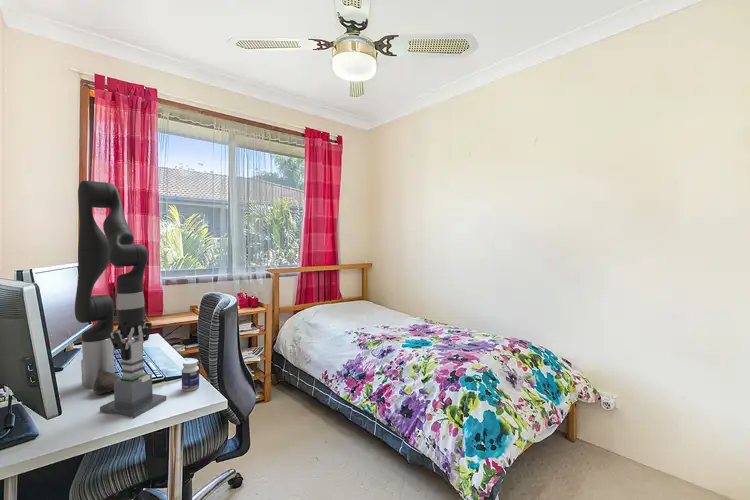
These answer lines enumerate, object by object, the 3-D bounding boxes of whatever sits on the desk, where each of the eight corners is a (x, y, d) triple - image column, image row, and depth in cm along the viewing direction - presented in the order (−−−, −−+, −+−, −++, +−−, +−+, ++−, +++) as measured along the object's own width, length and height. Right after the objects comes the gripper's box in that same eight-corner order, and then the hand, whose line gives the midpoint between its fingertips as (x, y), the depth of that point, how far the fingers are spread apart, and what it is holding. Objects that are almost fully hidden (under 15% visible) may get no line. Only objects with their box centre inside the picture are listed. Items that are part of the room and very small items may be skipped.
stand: (99, 411, 116) (98, 380, 115) (133, 395, 128) (132, 366, 127) (134, 417, 112) (133, 385, 112) (166, 400, 124) (165, 370, 123)
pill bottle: (192, 392, 130) (191, 365, 129) (178, 390, 131) (177, 363, 130) (202, 385, 135) (202, 359, 135) (189, 384, 137) (188, 358, 136)
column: (121, 388, 118) (119, 343, 117) (134, 382, 122) (132, 339, 122) (132, 390, 117) (131, 344, 116) (145, 384, 121) (143, 340, 120)
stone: (111, 394, 136) (85, 382, 131) (129, 376, 138) (105, 363, 133) (109, 409, 128) (82, 396, 123) (129, 389, 130) (103, 376, 125)
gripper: (140, 301, 126) (142, 349, 127) (100, 309, 112) (102, 364, 113) (158, 302, 124) (159, 351, 125) (119, 311, 110) (120, 366, 111)
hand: (132, 357), depth 119 cm, fingers closed on column, 4 cm apart
